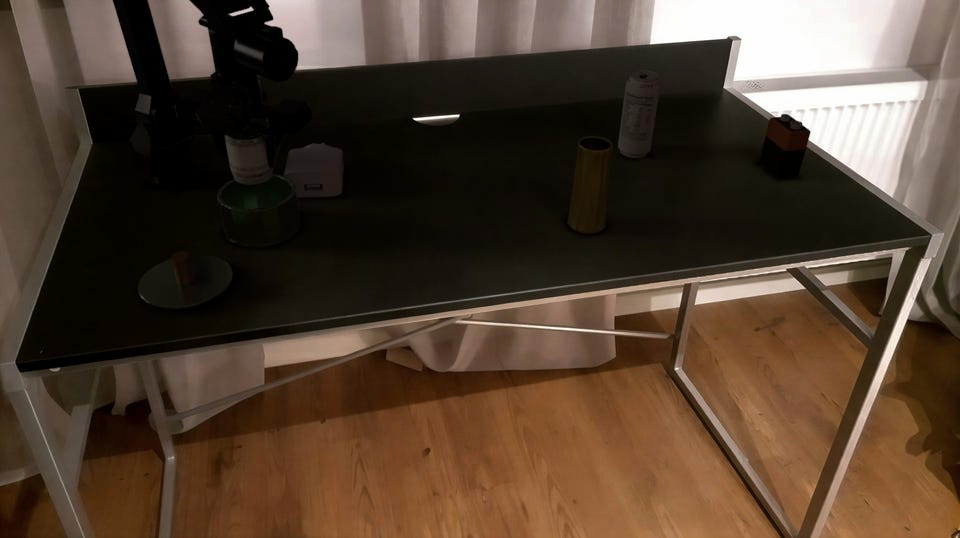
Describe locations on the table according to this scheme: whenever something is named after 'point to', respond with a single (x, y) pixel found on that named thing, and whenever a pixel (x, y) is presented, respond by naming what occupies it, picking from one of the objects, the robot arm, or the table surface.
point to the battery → (784, 146)
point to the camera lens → (248, 154)
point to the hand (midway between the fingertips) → (251, 163)
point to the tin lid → (185, 281)
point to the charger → (316, 170)
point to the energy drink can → (639, 113)
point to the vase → (590, 185)
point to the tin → (259, 212)
